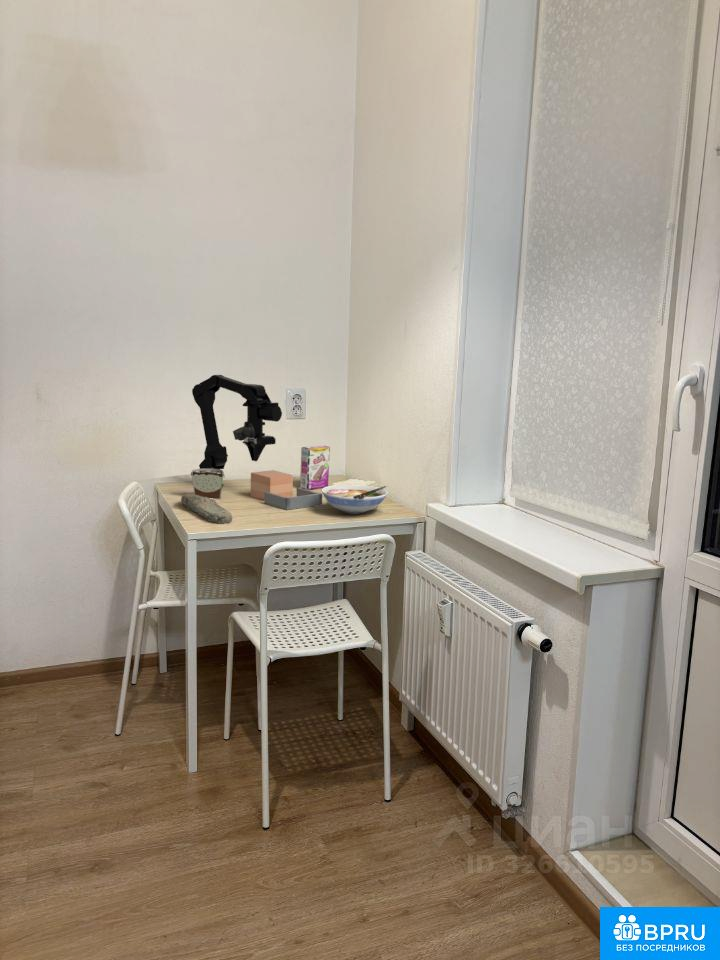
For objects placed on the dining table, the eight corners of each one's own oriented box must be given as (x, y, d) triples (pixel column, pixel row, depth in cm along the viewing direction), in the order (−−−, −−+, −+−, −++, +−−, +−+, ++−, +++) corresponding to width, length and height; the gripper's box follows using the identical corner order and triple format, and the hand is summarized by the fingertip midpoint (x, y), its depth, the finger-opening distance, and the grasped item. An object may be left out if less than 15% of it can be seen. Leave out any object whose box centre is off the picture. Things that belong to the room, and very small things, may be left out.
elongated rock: (209, 530, 240) (239, 528, 246) (210, 513, 239) (241, 512, 245) (173, 502, 269) (201, 501, 275) (174, 487, 268) (202, 486, 274)
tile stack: (250, 496, 285) (250, 472, 283) (272, 493, 292) (273, 470, 290) (270, 502, 276) (270, 477, 275) (292, 499, 283) (292, 475, 282)
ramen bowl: (340, 501, 282) (341, 479, 281) (398, 509, 272) (399, 486, 271) (306, 514, 260) (307, 490, 258) (368, 523, 250) (369, 498, 249)
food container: (228, 496, 284) (228, 469, 282) (224, 499, 278) (224, 472, 276) (195, 494, 285) (195, 467, 283) (190, 497, 279) (190, 470, 277)
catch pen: (264, 503, 274) (264, 492, 274) (299, 498, 285) (299, 487, 284) (287, 510, 265) (287, 498, 264) (322, 504, 275) (322, 493, 274)
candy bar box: (308, 490, 299) (309, 448, 296) (299, 488, 303) (300, 446, 300) (329, 487, 307) (330, 446, 304) (320, 485, 311) (321, 444, 308)
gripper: (222, 417, 288) (222, 459, 291) (251, 422, 275) (250, 466, 278) (247, 416, 296) (247, 456, 299) (276, 421, 282) (276, 463, 285)
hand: (254, 460), depth 290 cm, fingers closed
